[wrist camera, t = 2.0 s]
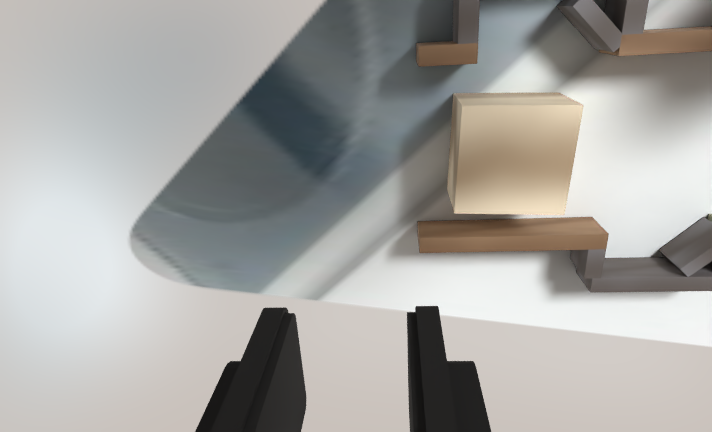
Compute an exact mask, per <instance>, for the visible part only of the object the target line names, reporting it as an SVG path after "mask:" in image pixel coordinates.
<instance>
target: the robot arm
mask: <svg viewBox="0 0 712 432" xmlns="http://www.w3.org/2000/svg"><path fill="white" fill-rule="evenodd" d="M407 329H408V331H407V333H408V383H409V384H408V385H409V386H408V387H409V418H410V432H491V429H490V425H489V420H488V416H487V412H486V408H485V404H484V399H483V395H482V391H481V387H480V382H479V378H478V374H477V370H476V366H475V363H474V362H473V361H447V359H446V353H445V347H444V340H443V335H442V327H441V321H440V315H439V309H438V306H416V312H407ZM305 410H306V391H305V384H304V377H303V368H302V361H301V353H300V345H299V338H298V330H297V322H296V316H295V314H294V313H291V314H290V313H288V310H287V308H264V309H263V310H262V313H261V315H260V317H259V319H258V322H257V324H256V327H255V329H254V331H253V334H252V336H251V338H250V341H249V343H248V345H247V348H246V350H245V352H244V355H243V357H242V359H241V361H230V362H229V363H228V364H227V365H226V367H225V369H224V371H223V373H222V375H221V377H220V380H219V382H218V384H217V386H216V388H215V390H214V393H213V395H212V397H211V399H210V401H209V403H208V406H207V407H206V410H205V412H204V414H203V416H202V419H201V421H200V423H199V425H198V427H197V429H196V432H301V429H302V424H303V419H304V415H305Z"/></svg>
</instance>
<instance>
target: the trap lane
mask: <svg viewBox="0 0 712 432" xmlns="http://www.w3.org/2000/svg"><path fill="white" fill-rule="evenodd" d="M648 1H649V0H606V2H605V9H604V12H603V11H602V10H601V9H600V8H599V6H598V5H597V4H596V3H595V2H594V1H593V0H562V1H561V2H560V3H559V4H558V5H557V8H558V9H559V10H560V11H561V12H562V13H563V14H564V15H565V16H566V18H567V19H568V20H569V21H570V22H571V23H572V24H573V25H574V26H575V28H576V29H577V30H578V31H579V32H580V33H581V34H582V35H583V36H584V38H585V39H586V40H587V41H588V42H589V43H590V44H591V45H592V47H593V48H594V49H599V52H602V53H607V54H611V55H616V56H627V55H646V54H665V53H684V52H703V51H712V26H706V27H688V28H671V29H653V30H644V24H645V19H646V13H647V7H648ZM479 8H480V0H453V31H452V41H445V42H427V43H416V62H417V64H418V66H419V67H421V66H440V65H458V64H477V56H478V32H479ZM608 235H609V234H608V233H607V232H606V231H605V230H604V229H603V228H602V227H601V226H600V225H599V224H598V223H597V222H596V221H595V220H594V218H593V217H572V218H532V219H493V220H453V221H418V242H419V251H420V253H442V252H493V251H544V250H571V255H570V260H571V261H572V262H573V264H574V265H575V267H576V273H577V274H578V276H579V277H580V278H581V280H582V281H583V283H584V284H585V285H586V287H587V288H588V290H589V291H590V292H658V291H712V214H709V216H708V219H706V218H705V217H703V218H702V219H700V220H699V221H698V222H696V223H695V224H693V225H692V226H691V227H689V228H688V229H687V230H685V231H684V232H682V233H681V234H680V235H678V236H677V237H676V238H674V239H673V240H671V241H670V242H669V243H667V244H666V245H665V246H663V247H662V248H660V249H659V251H660V252H661V253H662V254H663V255H664V256H665V257H645V258H605V252H606V247H607V241H608Z"/></svg>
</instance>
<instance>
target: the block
mask: <svg viewBox="0 0 712 432" xmlns="http://www.w3.org/2000/svg"><path fill="white" fill-rule="evenodd" d="M582 111H583V105H582V104H580V103H578V102H576V101H574V100H573V99H571V98H569V97H567V96H565V95H563V94H561V93H453V106H452V122H451V137H450V153H449V168H448V184H447V191H448V194H449V198H450V201H451V204H452V208H453V211H454V214H533V215H564V214H565V208H566V203H567V197H568V191H569V185H570V180H571V174H572V168H573V163H574V157H575V151H576V145H577V140H578V134H579V128H580V123H581V117H582Z"/></svg>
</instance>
